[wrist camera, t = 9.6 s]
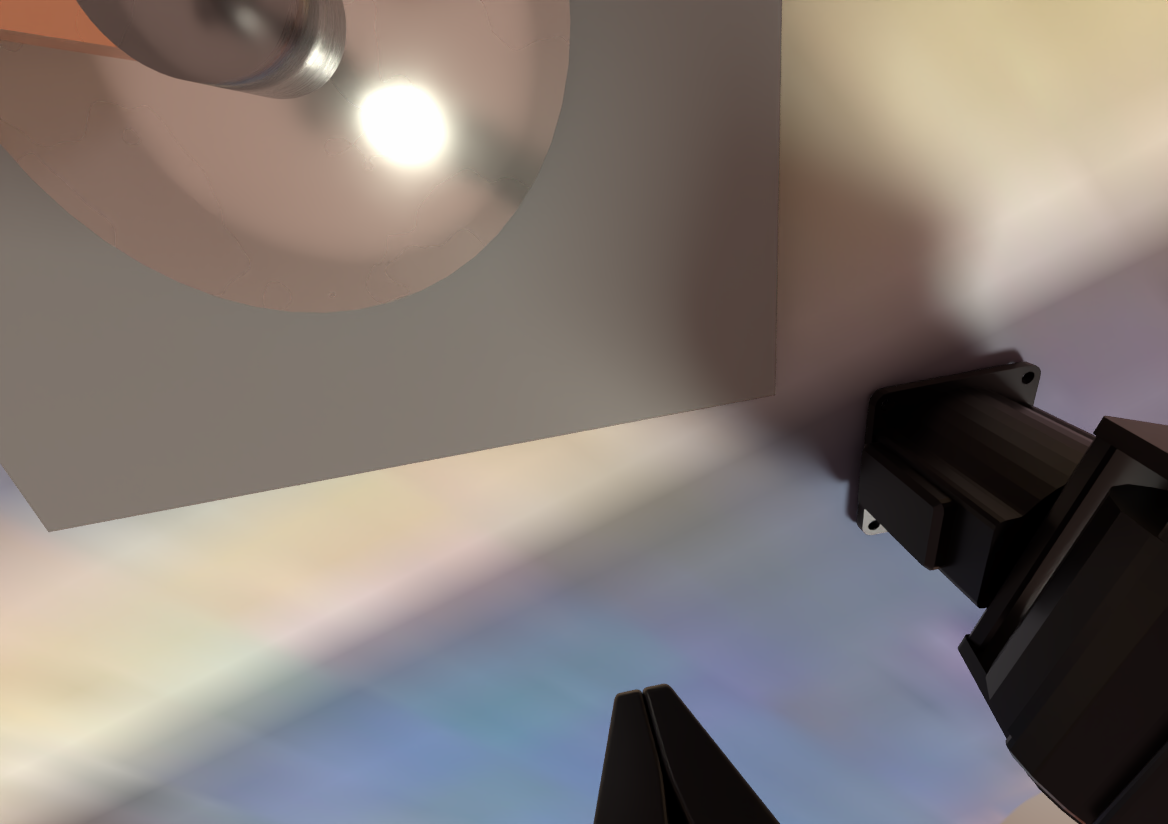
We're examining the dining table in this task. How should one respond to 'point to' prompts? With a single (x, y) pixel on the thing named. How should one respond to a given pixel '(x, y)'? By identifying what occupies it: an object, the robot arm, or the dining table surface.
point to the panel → (427, 301)
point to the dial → (286, 134)
